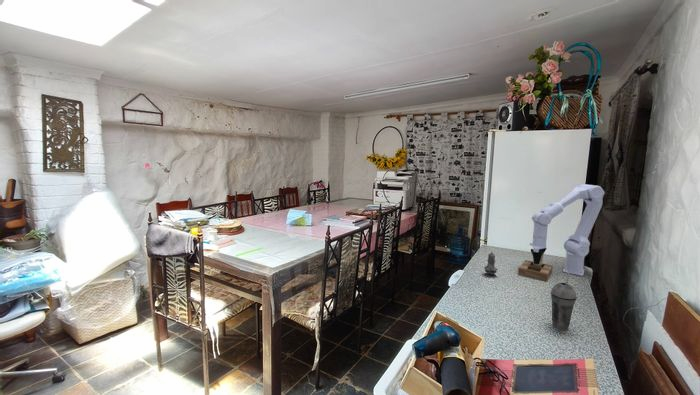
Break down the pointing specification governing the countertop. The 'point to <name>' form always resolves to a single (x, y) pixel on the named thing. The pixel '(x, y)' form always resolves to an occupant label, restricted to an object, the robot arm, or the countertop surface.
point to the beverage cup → (562, 304)
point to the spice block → (535, 270)
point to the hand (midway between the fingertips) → (537, 262)
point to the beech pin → (539, 263)
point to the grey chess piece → (490, 266)
